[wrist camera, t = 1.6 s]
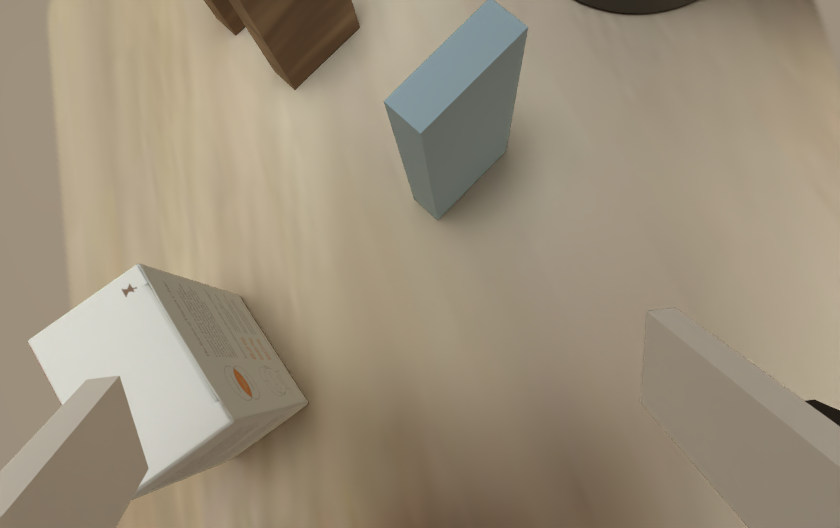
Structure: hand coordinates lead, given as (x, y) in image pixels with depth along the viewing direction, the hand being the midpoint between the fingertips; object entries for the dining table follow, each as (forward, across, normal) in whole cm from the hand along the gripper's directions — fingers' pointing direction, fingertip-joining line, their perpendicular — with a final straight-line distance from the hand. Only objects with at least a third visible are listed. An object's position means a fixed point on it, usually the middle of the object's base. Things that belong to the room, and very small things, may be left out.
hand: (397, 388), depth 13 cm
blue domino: (+20, +5, +2) cm, 21 cm away
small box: (+17, -9, -8) cm, 21 cm away
